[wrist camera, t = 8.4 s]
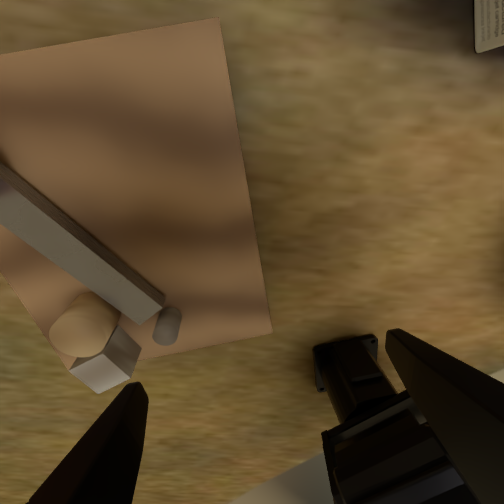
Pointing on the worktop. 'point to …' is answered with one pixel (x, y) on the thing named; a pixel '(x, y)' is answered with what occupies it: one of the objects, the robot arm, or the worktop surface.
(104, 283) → the lever
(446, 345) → the worktop surface
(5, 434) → the worktop surface
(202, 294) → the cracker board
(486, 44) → the ink box
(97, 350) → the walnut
